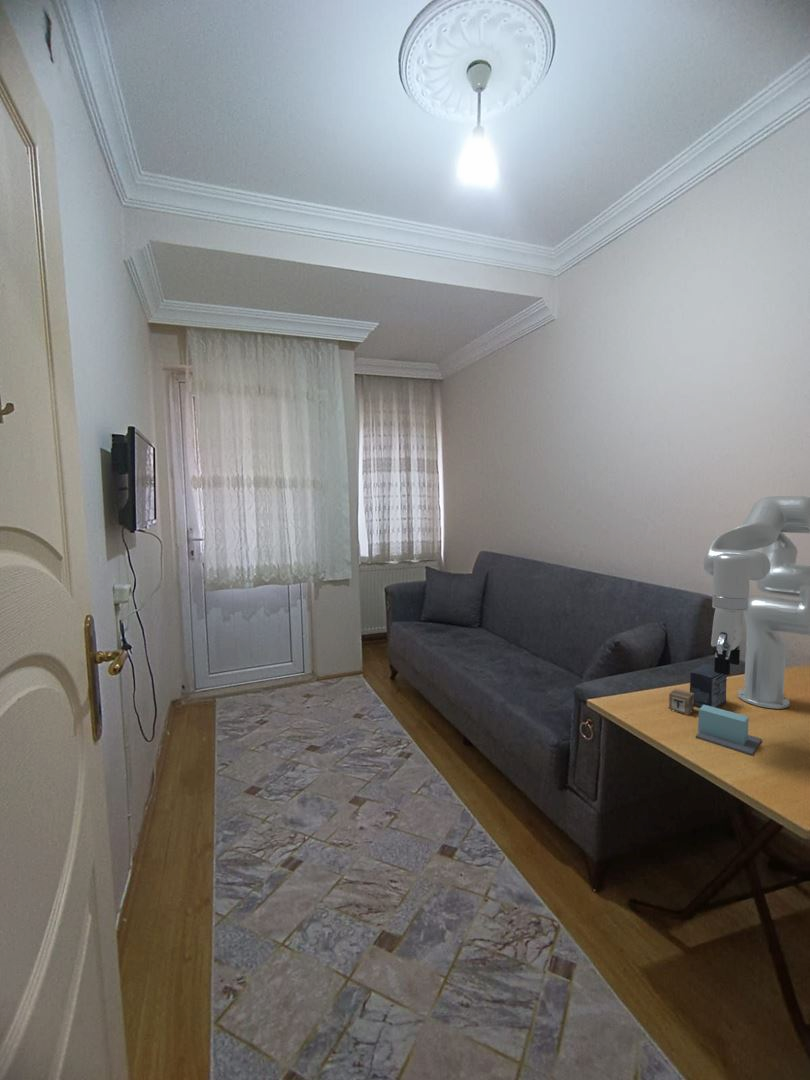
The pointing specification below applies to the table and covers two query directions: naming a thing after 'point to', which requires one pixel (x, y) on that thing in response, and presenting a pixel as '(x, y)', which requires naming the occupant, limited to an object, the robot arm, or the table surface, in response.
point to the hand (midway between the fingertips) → (726, 668)
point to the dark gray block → (733, 743)
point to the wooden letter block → (681, 701)
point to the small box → (708, 686)
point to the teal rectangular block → (723, 724)
